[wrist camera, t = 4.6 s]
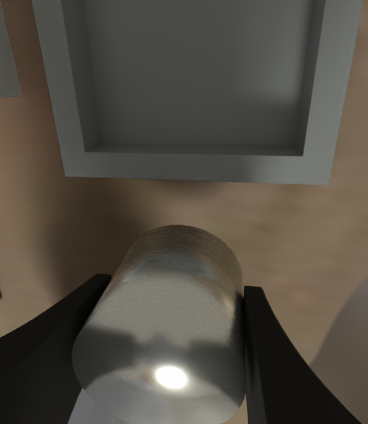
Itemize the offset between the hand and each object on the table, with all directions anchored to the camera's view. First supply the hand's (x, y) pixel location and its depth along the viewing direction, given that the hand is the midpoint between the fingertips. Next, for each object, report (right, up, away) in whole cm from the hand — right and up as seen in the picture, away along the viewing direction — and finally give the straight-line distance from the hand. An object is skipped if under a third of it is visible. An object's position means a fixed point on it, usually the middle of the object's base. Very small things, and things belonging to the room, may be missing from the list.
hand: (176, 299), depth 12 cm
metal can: (0, +1, +1) cm, 2 cm away
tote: (+1, +12, +1) cm, 12 cm away
